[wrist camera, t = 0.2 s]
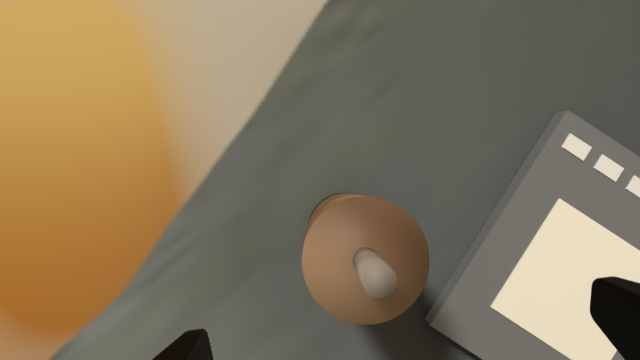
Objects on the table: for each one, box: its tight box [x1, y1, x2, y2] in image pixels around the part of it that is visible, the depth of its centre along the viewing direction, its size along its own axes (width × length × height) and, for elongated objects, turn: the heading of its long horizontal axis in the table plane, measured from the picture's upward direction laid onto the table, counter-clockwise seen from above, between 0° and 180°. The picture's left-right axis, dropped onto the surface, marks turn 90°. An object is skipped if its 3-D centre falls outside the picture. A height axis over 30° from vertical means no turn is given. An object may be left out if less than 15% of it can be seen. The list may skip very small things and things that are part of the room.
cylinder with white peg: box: [302, 193, 429, 325], centre depth 17 cm, size 5×5×13 cm
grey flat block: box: [424, 110, 640, 360], centre depth 23 cm, size 16×13×1 cm
